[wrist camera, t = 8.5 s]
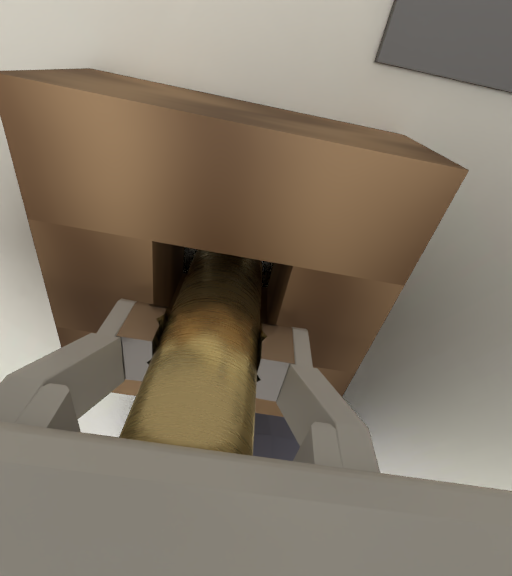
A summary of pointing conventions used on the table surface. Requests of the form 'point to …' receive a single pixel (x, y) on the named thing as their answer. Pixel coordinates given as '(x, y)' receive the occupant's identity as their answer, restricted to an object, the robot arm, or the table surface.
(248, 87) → the table surface
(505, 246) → the table surface
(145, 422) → the brass peg
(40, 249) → the hole block
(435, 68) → the rubber mat
